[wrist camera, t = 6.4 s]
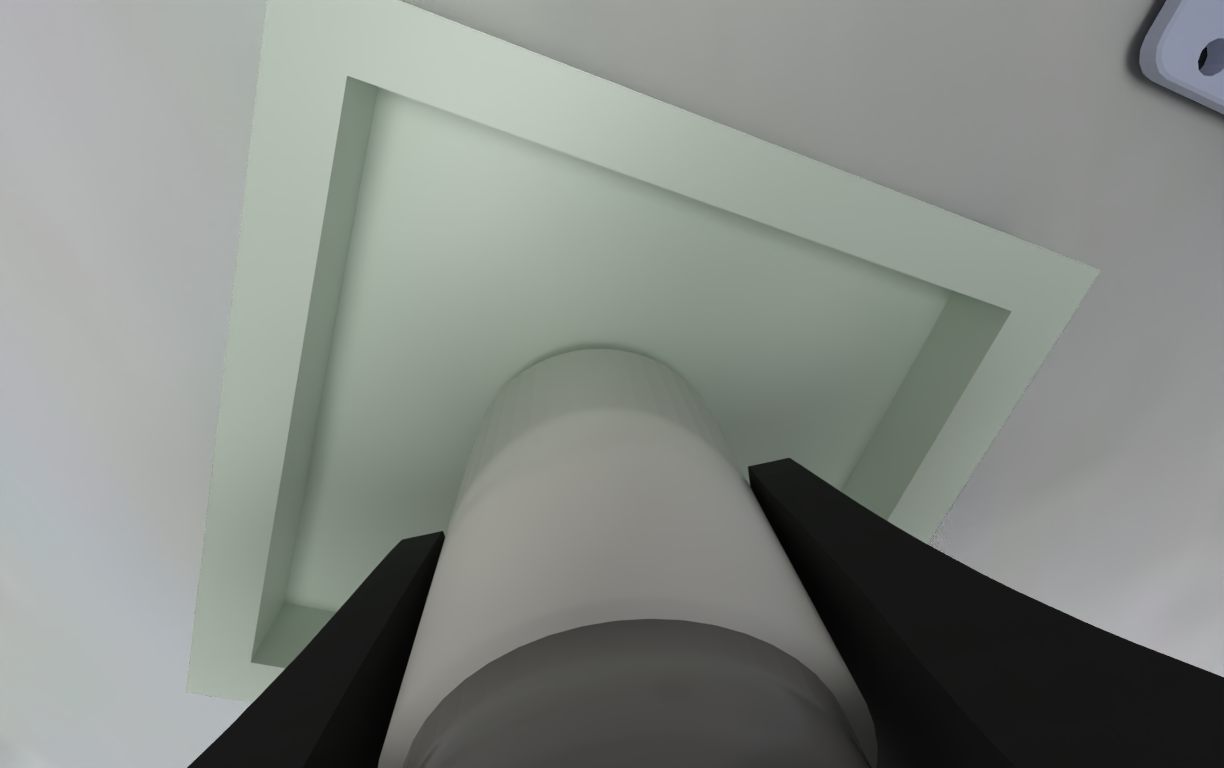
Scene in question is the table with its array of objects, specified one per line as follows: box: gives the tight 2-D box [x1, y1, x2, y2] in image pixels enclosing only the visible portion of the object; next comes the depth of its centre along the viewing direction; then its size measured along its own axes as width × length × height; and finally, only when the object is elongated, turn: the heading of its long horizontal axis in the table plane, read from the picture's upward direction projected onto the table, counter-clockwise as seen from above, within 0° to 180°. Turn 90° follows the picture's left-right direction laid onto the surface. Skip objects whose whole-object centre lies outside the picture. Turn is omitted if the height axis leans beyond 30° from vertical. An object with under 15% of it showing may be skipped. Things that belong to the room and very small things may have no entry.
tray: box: [186, 0, 1101, 703], centre depth 11 cm, size 12×12×2 cm
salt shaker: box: [378, 349, 878, 768], centre depth 8 cm, size 4×4×7 cm
